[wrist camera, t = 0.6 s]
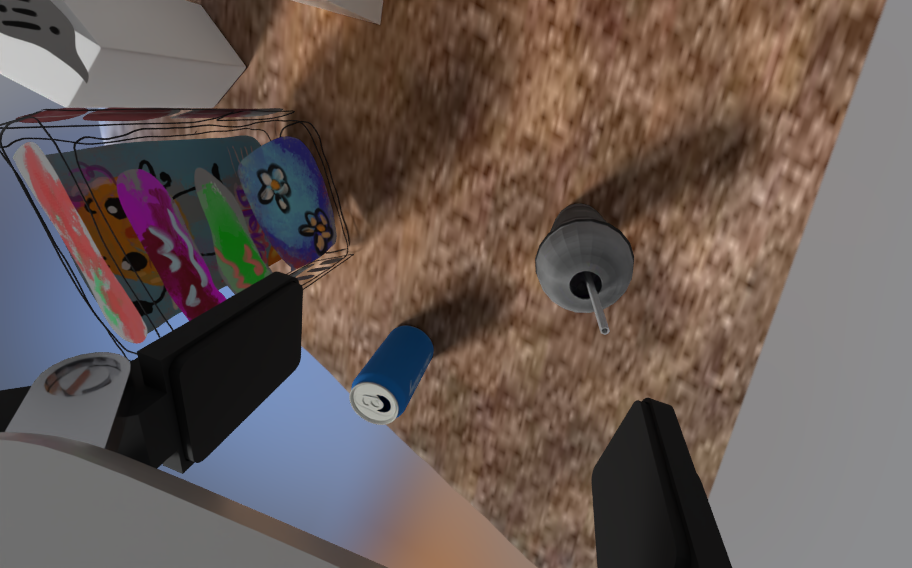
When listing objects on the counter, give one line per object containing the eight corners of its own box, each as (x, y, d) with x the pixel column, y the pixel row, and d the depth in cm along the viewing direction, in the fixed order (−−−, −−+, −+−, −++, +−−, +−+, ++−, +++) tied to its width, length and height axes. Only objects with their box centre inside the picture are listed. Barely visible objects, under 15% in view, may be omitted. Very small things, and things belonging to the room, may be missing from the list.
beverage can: (435, 367, 52) (402, 433, 41) (390, 358, 53) (348, 420, 43) (435, 326, 49) (401, 386, 39) (389, 319, 50) (343, 374, 40)
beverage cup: (578, 174, 37) (592, 231, 20) (631, 222, 38) (691, 320, 20) (527, 226, 41) (500, 315, 23) (576, 270, 42) (587, 390, 24)
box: (237, 38, 40) (-132, -42, 19) (284, 21, 39) (-66, -90, 17) (315, 258, 49) (125, 372, 28) (356, 253, 48) (187, 371, 26)
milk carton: (248, 67, 41) (35, 38, 25) (214, 108, 44) (3, 108, 28) (202, 4, 40) (-58, -72, 23) (170, 51, 43) (-81, 15, 26)
